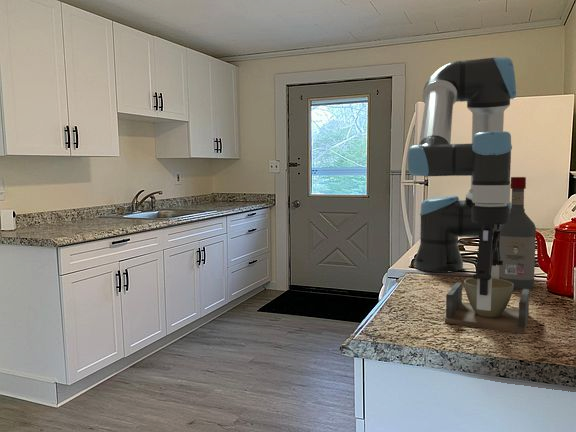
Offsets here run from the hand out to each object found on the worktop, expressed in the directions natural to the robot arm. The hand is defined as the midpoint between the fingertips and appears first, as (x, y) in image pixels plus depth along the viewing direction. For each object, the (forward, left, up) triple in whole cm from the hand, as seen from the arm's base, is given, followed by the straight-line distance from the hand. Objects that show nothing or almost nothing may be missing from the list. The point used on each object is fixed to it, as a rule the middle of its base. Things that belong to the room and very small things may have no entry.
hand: (488, 301), depth 105 cm
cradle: (0, 0, -4) cm, 4 cm away
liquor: (-33, +3, -4) cm, 33 cm away
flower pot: (0, 0, -3) cm, 3 cm away
